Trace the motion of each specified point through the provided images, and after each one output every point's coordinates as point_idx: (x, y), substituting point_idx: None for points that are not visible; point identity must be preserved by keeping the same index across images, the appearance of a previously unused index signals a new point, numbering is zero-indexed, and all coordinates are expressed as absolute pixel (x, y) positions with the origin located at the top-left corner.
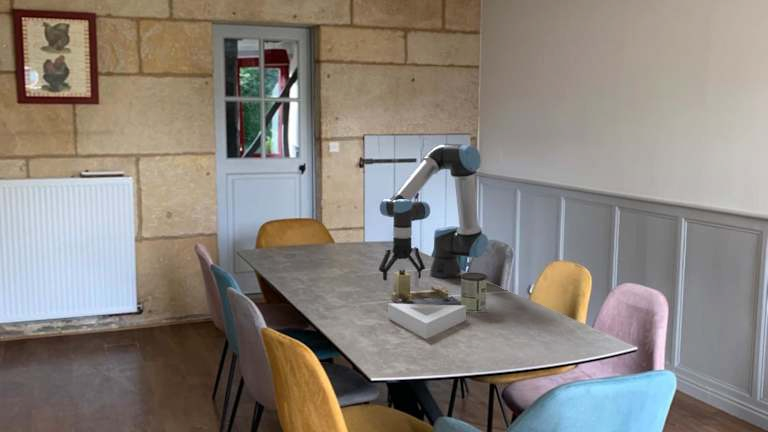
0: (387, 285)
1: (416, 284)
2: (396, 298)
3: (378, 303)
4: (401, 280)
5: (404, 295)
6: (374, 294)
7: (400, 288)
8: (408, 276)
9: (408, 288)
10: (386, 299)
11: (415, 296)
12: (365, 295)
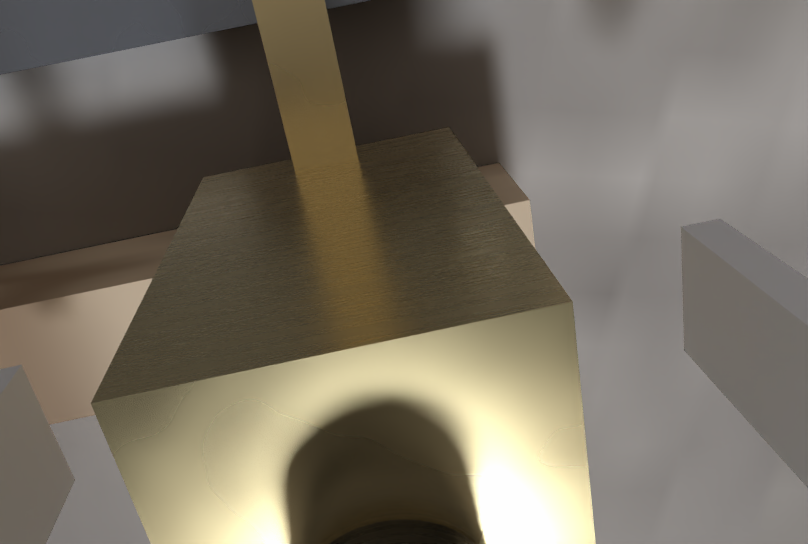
0: (747, 246)
1: (8, 405)
2: None
3: (771, 43)
4: (435, 249)
5: None
6: (677, 525)
7: (428, 171)
8: (180, 359)
9: (226, 205)
10: (583, 282)
11: (106, 263)
12: (802, 482)
